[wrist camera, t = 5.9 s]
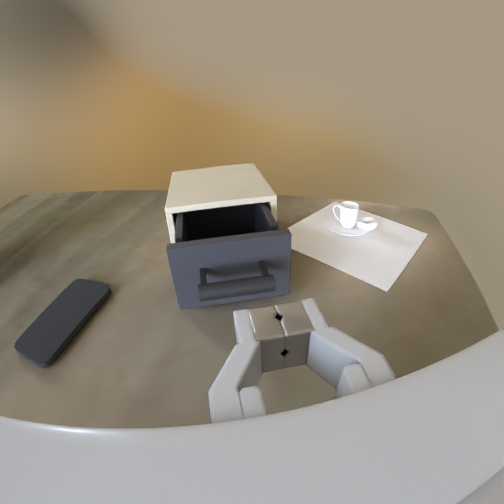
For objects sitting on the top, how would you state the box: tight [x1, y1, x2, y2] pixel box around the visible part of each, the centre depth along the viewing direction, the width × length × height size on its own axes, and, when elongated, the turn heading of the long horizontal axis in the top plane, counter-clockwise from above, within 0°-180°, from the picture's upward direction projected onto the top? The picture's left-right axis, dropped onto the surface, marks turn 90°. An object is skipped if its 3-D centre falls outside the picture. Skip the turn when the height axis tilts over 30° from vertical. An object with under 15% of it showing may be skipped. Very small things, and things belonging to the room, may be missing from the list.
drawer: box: [166, 202, 292, 309], centre depth 35 cm, size 19×12×8 cm, turn 10°
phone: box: [15, 279, 111, 367], centre depth 31 cm, size 7×1×15 cm
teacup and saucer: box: [324, 201, 379, 237], centre depth 48 cm, size 9×8×4 cm
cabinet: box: [165, 163, 277, 243], centre depth 45 cm, size 16×14×10 cm
